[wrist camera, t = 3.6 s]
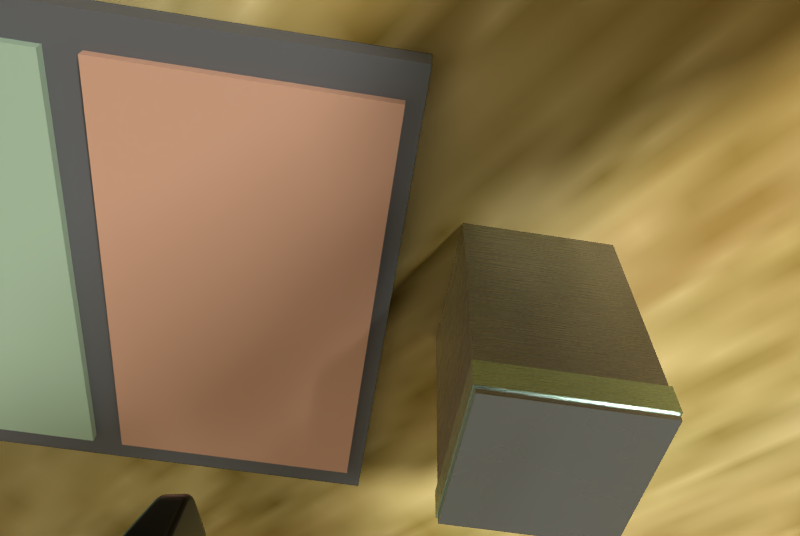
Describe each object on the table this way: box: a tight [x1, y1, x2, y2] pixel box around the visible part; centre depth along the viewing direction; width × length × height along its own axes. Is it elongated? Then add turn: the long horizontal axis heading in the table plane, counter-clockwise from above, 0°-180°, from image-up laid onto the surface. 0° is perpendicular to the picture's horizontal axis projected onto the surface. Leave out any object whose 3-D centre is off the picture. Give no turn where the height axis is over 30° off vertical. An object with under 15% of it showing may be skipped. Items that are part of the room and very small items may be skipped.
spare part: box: [435, 223, 683, 536], centre depth 19 cm, size 5×5×7 cm
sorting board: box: [0, 0, 432, 486], centre depth 21 cm, size 18×16×1 cm
